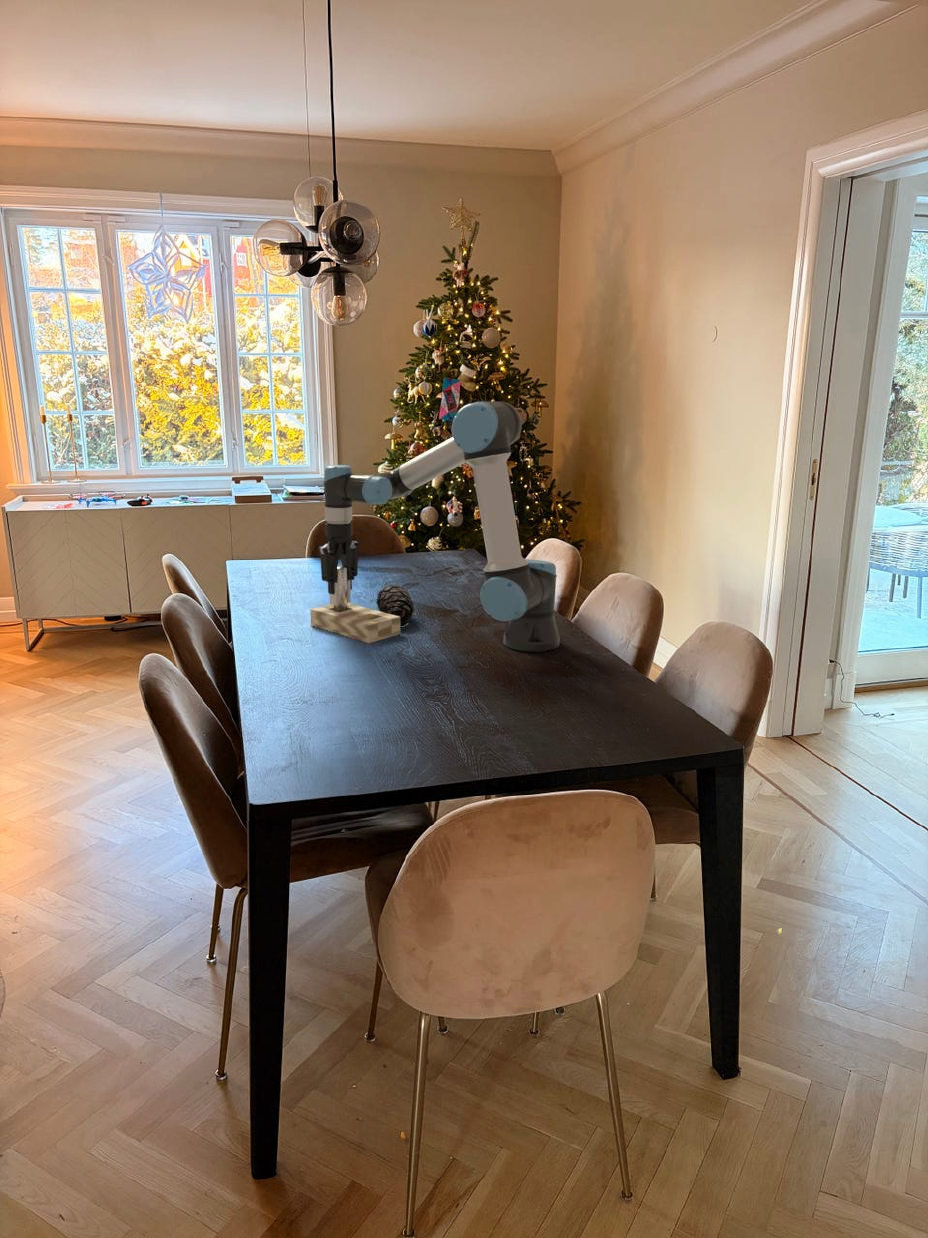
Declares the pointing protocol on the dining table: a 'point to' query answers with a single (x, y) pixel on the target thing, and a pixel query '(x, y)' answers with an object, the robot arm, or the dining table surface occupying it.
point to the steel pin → (341, 589)
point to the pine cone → (396, 603)
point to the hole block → (356, 622)
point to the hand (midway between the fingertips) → (340, 603)
